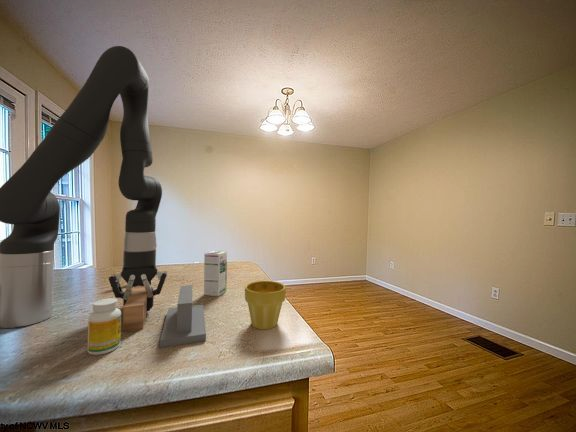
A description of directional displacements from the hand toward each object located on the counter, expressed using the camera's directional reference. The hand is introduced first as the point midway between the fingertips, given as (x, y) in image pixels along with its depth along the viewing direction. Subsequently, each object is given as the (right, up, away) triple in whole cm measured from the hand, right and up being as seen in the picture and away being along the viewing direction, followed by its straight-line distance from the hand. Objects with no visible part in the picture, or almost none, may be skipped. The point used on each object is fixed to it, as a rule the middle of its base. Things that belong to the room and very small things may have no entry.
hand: (138, 310), depth 66 cm
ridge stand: (+15, -1, -6) cm, 16 cm away
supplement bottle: (+3, -1, -17) cm, 17 cm away
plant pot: (+35, -2, -4) cm, 35 cm away
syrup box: (+15, -1, +19) cm, 24 cm away
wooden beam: (0, -1, 0) cm, 1 cm away
